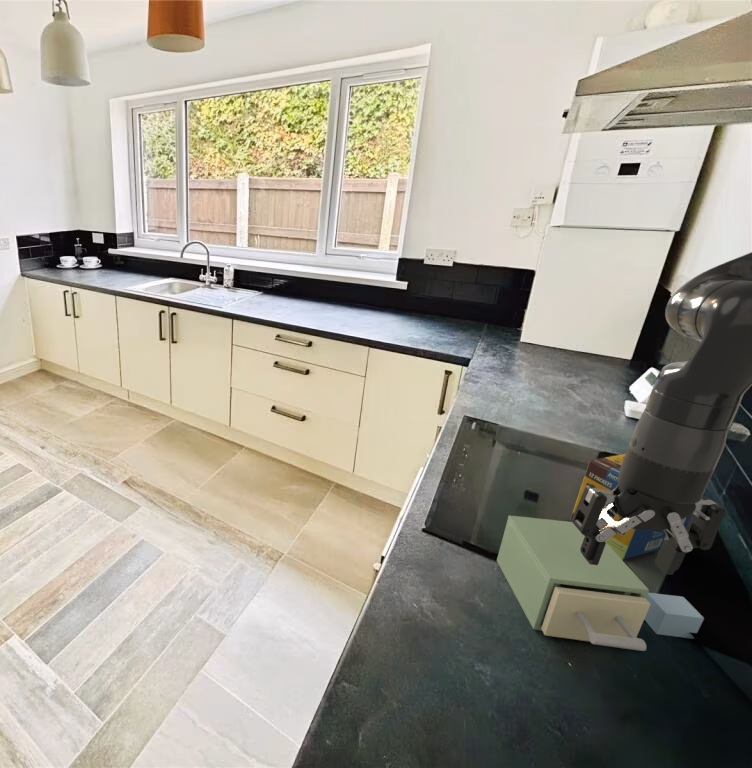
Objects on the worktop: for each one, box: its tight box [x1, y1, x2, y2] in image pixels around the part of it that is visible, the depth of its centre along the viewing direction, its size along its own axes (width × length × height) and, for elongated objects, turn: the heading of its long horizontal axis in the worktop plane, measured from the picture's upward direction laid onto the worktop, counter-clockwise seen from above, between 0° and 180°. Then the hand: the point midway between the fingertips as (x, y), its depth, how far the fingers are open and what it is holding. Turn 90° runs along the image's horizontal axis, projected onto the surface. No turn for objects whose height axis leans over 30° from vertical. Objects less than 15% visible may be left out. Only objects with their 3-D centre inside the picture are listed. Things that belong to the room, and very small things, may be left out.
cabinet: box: [496, 514, 650, 632], centre depth 72 cm, size 15×13×10 cm
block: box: [644, 592, 705, 640], centre depth 68 cm, size 5×4×4 cm
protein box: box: [569, 453, 692, 564], centre depth 85 cm, size 10×15×16 cm
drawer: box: [541, 583, 651, 652], centre depth 67 cm, size 18×11×8 cm, turn 171°
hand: (625, 565), depth 58 cm, fingers open, 8 cm apart
